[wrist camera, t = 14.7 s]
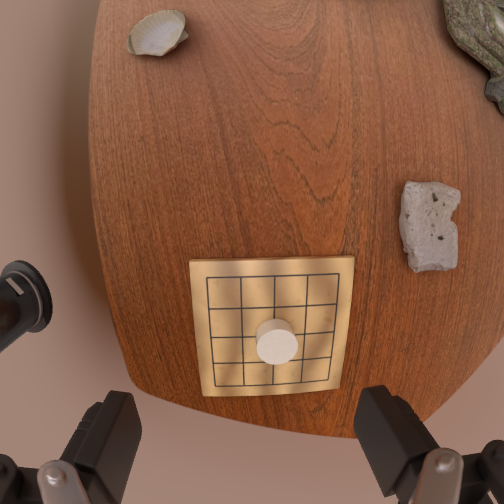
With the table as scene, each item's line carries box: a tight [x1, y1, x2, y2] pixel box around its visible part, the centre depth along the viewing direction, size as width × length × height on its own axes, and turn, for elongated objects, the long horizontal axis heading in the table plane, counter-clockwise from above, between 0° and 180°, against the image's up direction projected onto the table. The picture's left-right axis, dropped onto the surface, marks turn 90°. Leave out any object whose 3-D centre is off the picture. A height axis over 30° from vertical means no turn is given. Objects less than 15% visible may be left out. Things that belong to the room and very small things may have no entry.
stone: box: [399, 181, 460, 273], centre depth 34 cm, size 13×6×10 cm
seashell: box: [127, 9, 188, 56], centre depth 28 cm, size 8×3×8 cm
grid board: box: [189, 255, 355, 396], centre depth 37 cm, size 20×20×1 cm
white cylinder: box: [255, 319, 298, 365], centre depth 35 cm, size 5×5×3 cm
